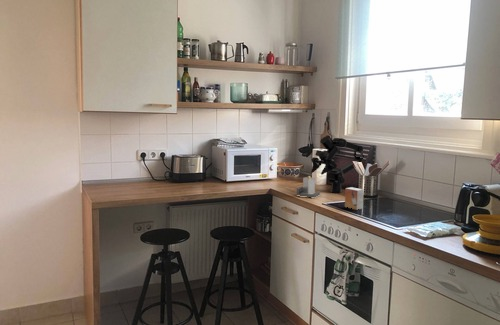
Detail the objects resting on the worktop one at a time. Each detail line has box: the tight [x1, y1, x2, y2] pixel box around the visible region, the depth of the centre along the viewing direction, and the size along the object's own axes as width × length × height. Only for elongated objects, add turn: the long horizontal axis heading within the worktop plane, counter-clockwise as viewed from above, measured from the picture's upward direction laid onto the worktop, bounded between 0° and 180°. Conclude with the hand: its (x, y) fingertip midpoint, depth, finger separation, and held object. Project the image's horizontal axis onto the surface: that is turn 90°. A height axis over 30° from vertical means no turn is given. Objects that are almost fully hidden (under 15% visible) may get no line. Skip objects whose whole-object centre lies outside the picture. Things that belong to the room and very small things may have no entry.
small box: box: [344, 186, 365, 211], centre depth 221 cm, size 8×6×10 cm
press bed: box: [295, 185, 321, 198], centre depth 252 cm, size 10×11×5 cm
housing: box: [302, 175, 316, 194], centre depth 251 cm, size 5×5×10 cm
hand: (316, 173), depth 253 cm, fingers open, 9 cm apart
